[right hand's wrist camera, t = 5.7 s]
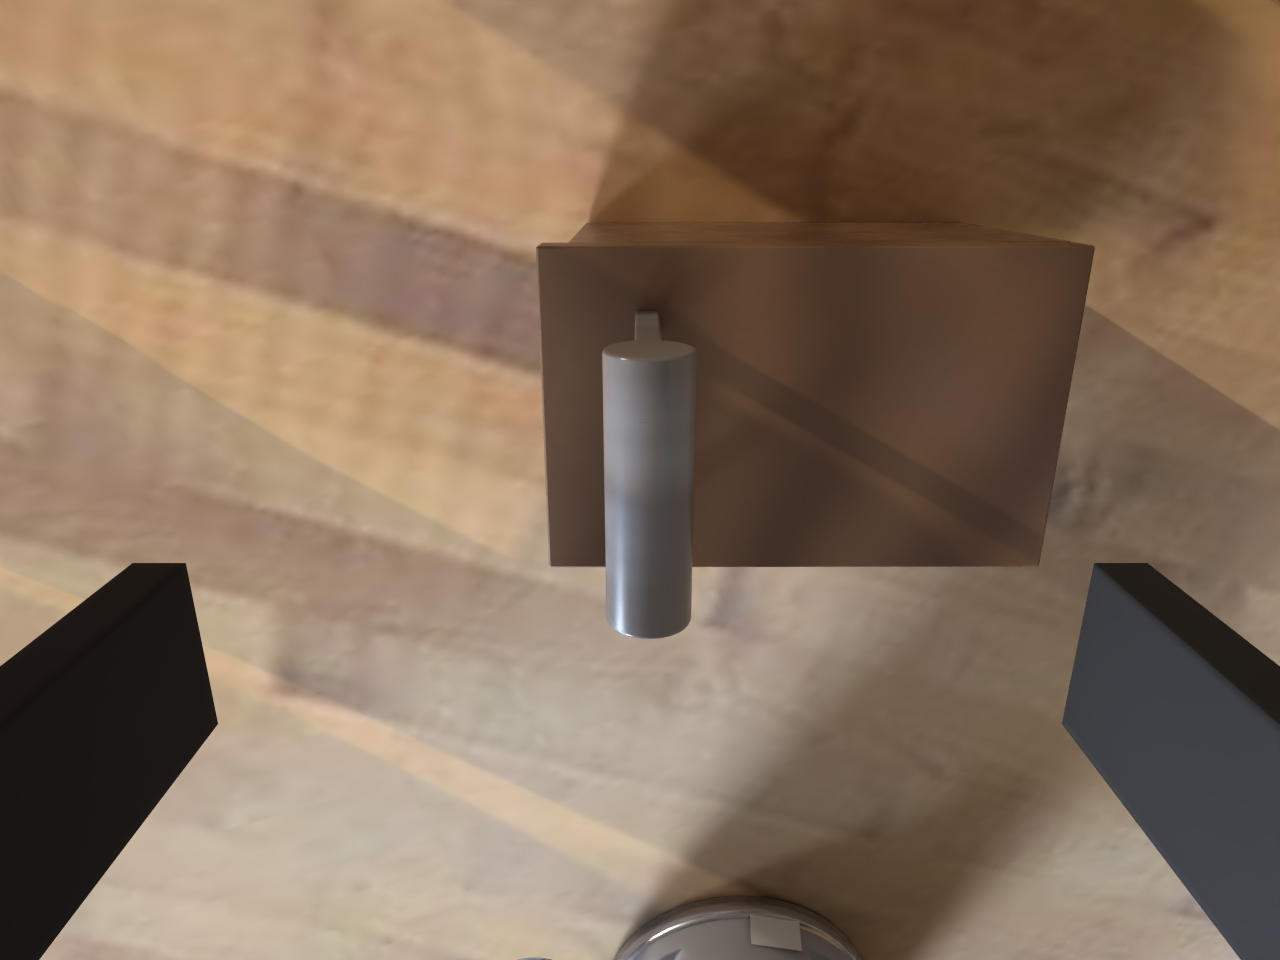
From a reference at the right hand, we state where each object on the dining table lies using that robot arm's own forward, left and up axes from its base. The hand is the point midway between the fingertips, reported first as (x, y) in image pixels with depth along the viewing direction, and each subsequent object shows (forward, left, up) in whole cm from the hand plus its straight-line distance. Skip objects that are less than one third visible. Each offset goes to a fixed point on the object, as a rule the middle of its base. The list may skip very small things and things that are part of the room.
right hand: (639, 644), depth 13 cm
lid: (+2, -5, -16) cm, 17 cm away
